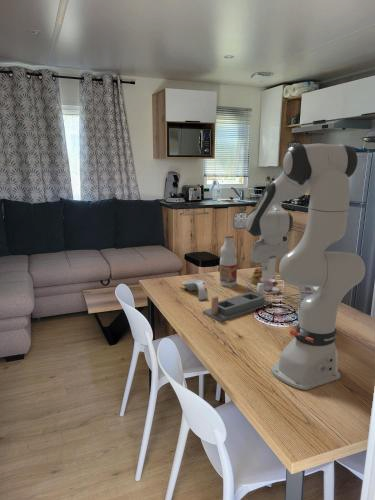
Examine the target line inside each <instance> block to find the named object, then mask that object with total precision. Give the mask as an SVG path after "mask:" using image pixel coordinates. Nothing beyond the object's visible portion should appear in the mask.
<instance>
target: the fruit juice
mask: <svg viewBox="0 0 375 500" xmlns="http://www.w3.org/2000/svg"><path fill="white" fill-rule="evenodd" d="M223 237H224V242H223V245H222V246H221V247H220V250H219V252H220V258H219V285H220V286H222V287H226V288H227V287H229V288H230V287H234V286H236V285H237V281H238V280H237V279H238V277H237V275H238V274H237V272H238V268H237V267H238V259H237V253H238V249H237V247H236V246H235V244H234V235H233V234H224V236H223Z"/></svg>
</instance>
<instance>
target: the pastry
mask: <svg viewBox="0 0 375 500" xmlns="http://www.w3.org/2000/svg"><path fill="white" fill-rule="evenodd" d="M261 278H263V277H262V267H257V268H255V270H254V272H253V273H252V275H251V278H250V280H251V283H252V284H253V285H255V286H257V284H258V283H262V282H261V280H260V279H261ZM275 278H276V276H275V277H274V278H273V279H275ZM275 280H276V279H275ZM275 284H276V281H275V282H274V284H273V286H274V285H275Z"/></svg>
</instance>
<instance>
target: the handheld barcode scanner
mask: <svg viewBox="0 0 375 500" xmlns="http://www.w3.org/2000/svg"><path fill="white" fill-rule="evenodd" d="M182 286H184V288H185V289H187V290H188V291H190V290H197V291H198V301H205V300H204V299H206V300H208V294H207V293H208V292H207V291H206V287H205V281H204V280H201V279H192V280H191V279H190V280H185V281H183V282H182Z"/></svg>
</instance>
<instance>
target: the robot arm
mask: <svg viewBox="0 0 375 500" xmlns="http://www.w3.org/2000/svg"><path fill="white" fill-rule="evenodd" d="M358 159H359V158H358V155H357V152H356V150H355V148H354V147H353V146H350V145H347V144H333V143H331V144H328V143H322V142H321V143H310V144H309V143H308V144H307V143H306V144H304V143H303V144H296V145H292V146H290V147H288V148H287V150H286V151H285V153H284V156H283V160H282V168H283V169H282V172H281V173H280V174H279V175H278V177H277V178H275V180H273V181H272V182H270V183H269V184H268V185H267V186H266V187H265V188H264V190H263V191H262V193H261V194H260V197H259V198H258V201H257V202H256V203H255V205H254V207H253V208H252V209H251V211H250V212H249V213H248V215H246V216H247V217H246V218H245V229H246V231H247V232H248V233H249V234H250V235H251V236H253V237H258V236H259V240H255V241H254V242H253V243H252V247H251V253H250V261H251V262H252V263H255V264H258V263H260V265H261V268H262V270H264V271H265V270H267V266H266V265H265V263H266V261H267V260H269V257H270V256H274V255H276V264H275V269H276V265H277V263H278V262H279V258H281V259H280V262H279V266H278V272H279V277H281V279H282V281H283V282H284V283H285V284H287V285H291V286H296V287H313V288H314V287H316V288H317V287H318V288H317V289H316V290H315V291H314V293H313V294H311V295H309V296H307V297H305V298H304V299H303V301H302V302H301V305H300V317H299V321H298V323H297V326H296V328H295V329H294V328H291V329H290V330H289V331H290V332H289V334H290V336H293V338H292V339H291V340H290V342H289V343H288V344H287V345H286V347H284V349H283V350H282V352H281V353H280V355H279V360H278V361H277V362H276V363H275V364H274V365H272V366H271V368H270V372H271V374H272V375H273V376H274V377H276V378H277V379H278V380H280V381H281V382H283V383H285V384H286V385H289V386H290V387H293V388H295V389H300V390H304V391H307V390H311V389H314V388H316V387H319V386H322V385H326V384H328V383H331V382H334V381H337V380H340V379H341V373H340V372H339V370H338V368H339V367H338V366H339V363H338V362H339V360H338V359H339V358H338V354H339V353H338V349H337V347H336V343H335V342H336V340H337V328H336V322H337V315H338V310H339V306H340V304H341V302H342V300H343V298H344V297H345V296H346V294H347V293H348V292H349V291H350V290H351V289H353V288H354V287H355V286H357V285H358V284H360V283H361V282H362V281H363V279H364V277H365V274H366V265H365V262H364V259H362V257H361V256H360V255H359V254H357V253H352V252H349V251H327V250H326V249H327V248H329V247H330V245H332V244H333V243H336V242H338V241H340V240H341V239H342V238H343V237H344V236H345V234H346V231H347V225H348V216H349V210H350V209H349V208H350V198H351V197H350V196H351V195H350V193H351V188H350V177H351V176H352V175H354V173H355V172H356V170H357V167H358ZM308 191H310V195H309V197H310V198H309V202H308V203H309V204H308V210H307V217H306V218H307V219H306V225H305V230H304V233H303V236H302V237H301V239H300V240H299V242H298V243H297V245H296V246H295V247H294V248H293V249H291V250H289V248H288V247H289V243H288V241H289V236H287V235H286V234H289V233H290V232H291V230H292V229H293V226H294V218H293V215H292V214H291V213H290V212H289V211H286V210H285V209H284V208H283V207H282V202H285V201H289V200H290V201H291V200H295V199H299V198H301V197H303V196H304V195H306V194H307V193H308ZM288 250H289V252H288Z"/></svg>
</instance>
